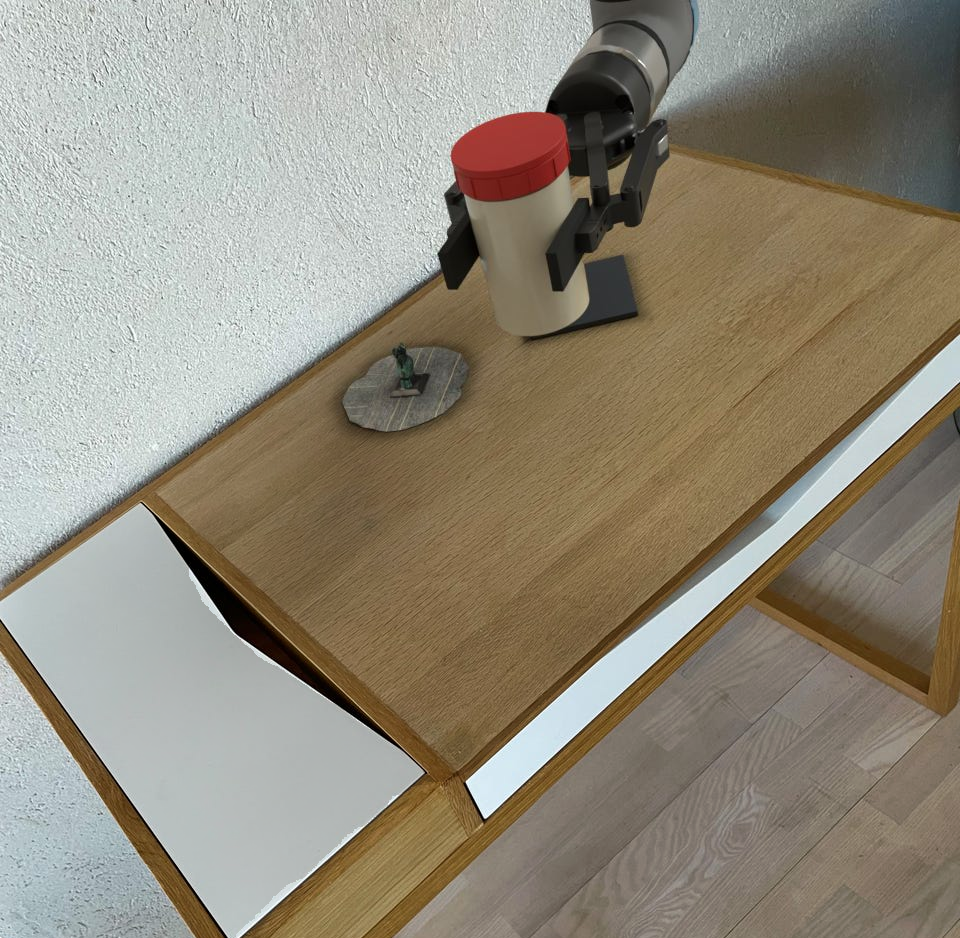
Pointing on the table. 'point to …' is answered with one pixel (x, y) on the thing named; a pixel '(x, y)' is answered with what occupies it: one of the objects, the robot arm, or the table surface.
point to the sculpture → (406, 388)
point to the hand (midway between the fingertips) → (499, 272)
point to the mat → (604, 295)
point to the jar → (527, 259)
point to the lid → (510, 156)
